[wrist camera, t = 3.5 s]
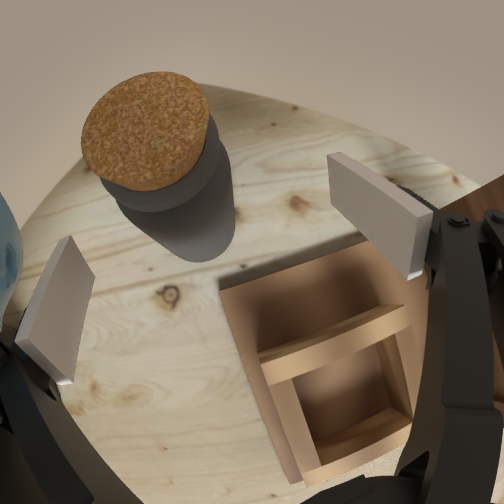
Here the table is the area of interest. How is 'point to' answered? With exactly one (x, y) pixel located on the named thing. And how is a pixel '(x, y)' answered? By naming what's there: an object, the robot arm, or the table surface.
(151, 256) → the table surface
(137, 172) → the bottle
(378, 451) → the wooden holder stand
